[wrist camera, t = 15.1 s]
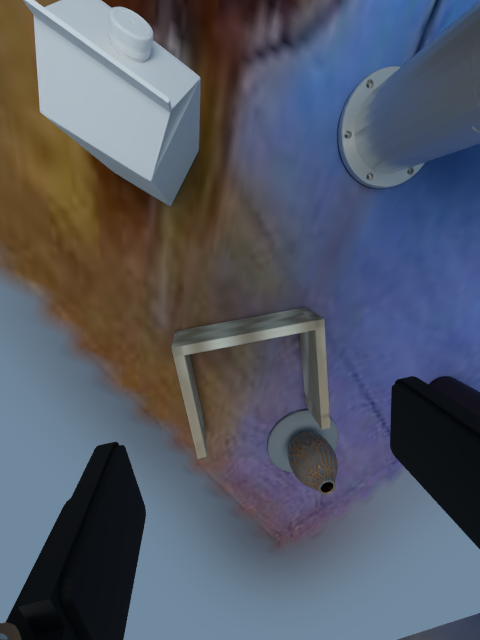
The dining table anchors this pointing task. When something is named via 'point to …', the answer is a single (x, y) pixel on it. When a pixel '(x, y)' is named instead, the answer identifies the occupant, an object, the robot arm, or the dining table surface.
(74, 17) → the milk carton
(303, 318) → the holder
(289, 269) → the dining table surface
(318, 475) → the vase
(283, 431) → the mat
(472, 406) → the bottle
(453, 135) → the robot arm
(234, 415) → the dining table surface
